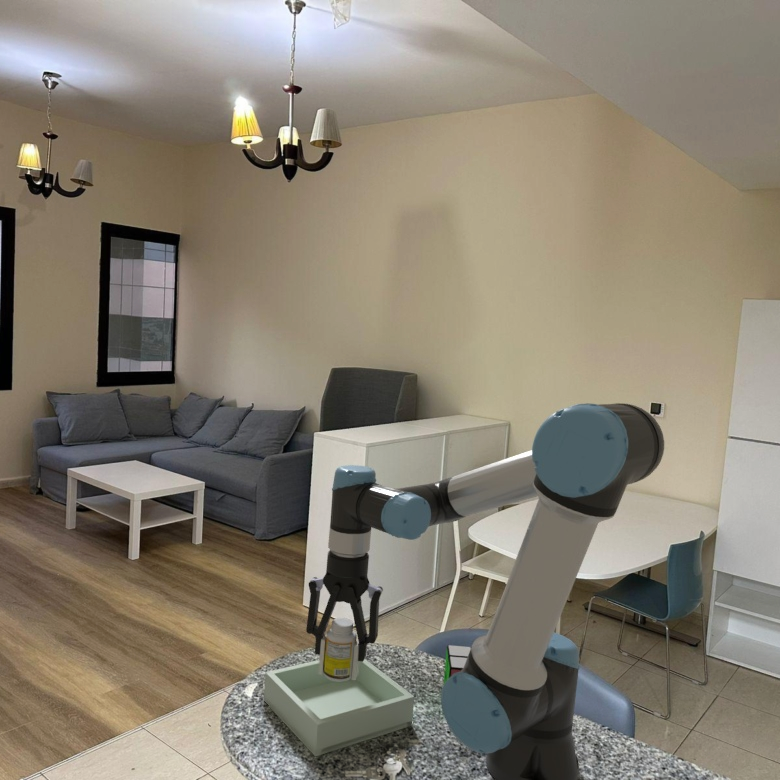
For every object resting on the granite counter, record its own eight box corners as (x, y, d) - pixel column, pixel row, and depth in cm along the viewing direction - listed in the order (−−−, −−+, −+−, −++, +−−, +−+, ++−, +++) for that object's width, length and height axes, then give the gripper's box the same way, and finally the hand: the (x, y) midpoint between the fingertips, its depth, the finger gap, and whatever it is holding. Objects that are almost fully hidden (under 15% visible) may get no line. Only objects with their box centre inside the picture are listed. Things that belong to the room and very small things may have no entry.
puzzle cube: (499, 724, 132) (503, 672, 131) (445, 719, 132) (449, 667, 131) (492, 696, 142) (496, 648, 141) (442, 692, 142) (446, 644, 141)
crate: (411, 725, 129) (414, 696, 128) (315, 756, 117) (317, 724, 117) (353, 677, 145) (355, 651, 144) (263, 700, 133) (265, 672, 133)
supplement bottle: (337, 665, 134) (341, 613, 133) (359, 676, 131) (364, 622, 130) (316, 675, 130) (321, 621, 129) (339, 686, 126) (343, 631, 126)
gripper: (402, 551, 131) (391, 672, 133) (305, 538, 134) (296, 656, 136) (395, 564, 123) (384, 692, 125) (293, 550, 126) (284, 675, 128)
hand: (338, 673), depth 130 cm, fingers closed on supplement bottle, 5 cm apart
